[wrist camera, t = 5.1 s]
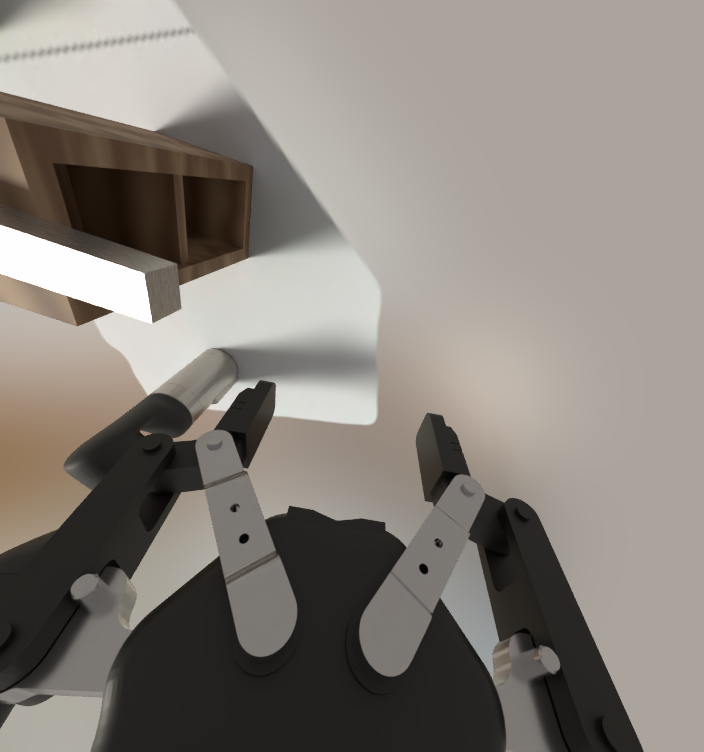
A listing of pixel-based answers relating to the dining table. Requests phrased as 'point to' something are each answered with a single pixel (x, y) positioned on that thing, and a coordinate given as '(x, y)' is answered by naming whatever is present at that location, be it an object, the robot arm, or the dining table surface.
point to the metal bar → (87, 266)
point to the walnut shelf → (119, 195)
